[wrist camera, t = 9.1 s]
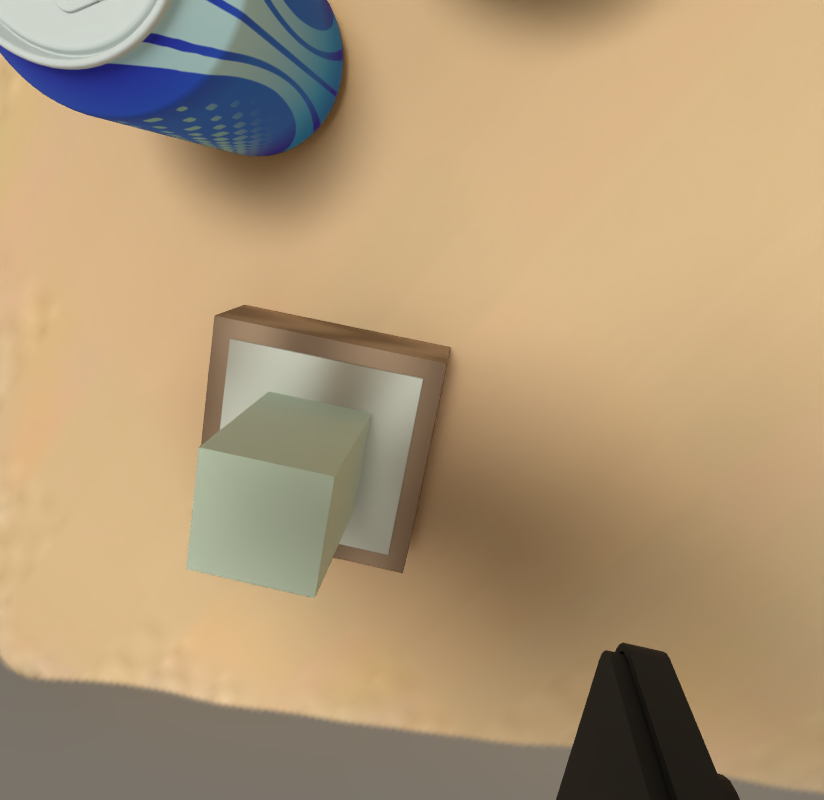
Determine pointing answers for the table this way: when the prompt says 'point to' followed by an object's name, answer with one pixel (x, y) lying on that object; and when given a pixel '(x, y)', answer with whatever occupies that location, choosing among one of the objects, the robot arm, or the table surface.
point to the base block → (346, 387)
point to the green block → (277, 492)
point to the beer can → (184, 65)
